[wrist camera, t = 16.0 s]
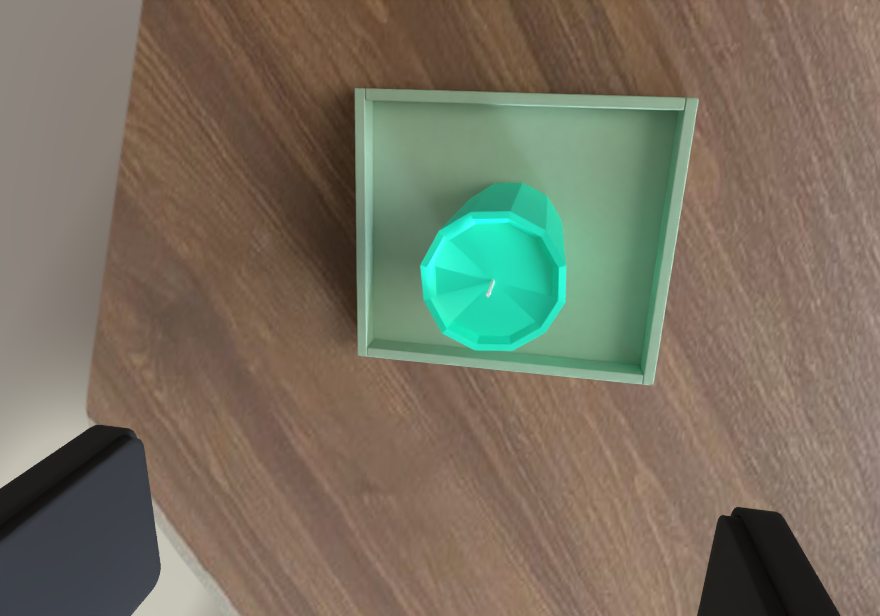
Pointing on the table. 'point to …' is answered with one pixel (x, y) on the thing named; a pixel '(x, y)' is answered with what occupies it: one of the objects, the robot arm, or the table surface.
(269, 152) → the table surface
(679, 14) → the table surface
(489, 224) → the candle
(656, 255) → the tray
